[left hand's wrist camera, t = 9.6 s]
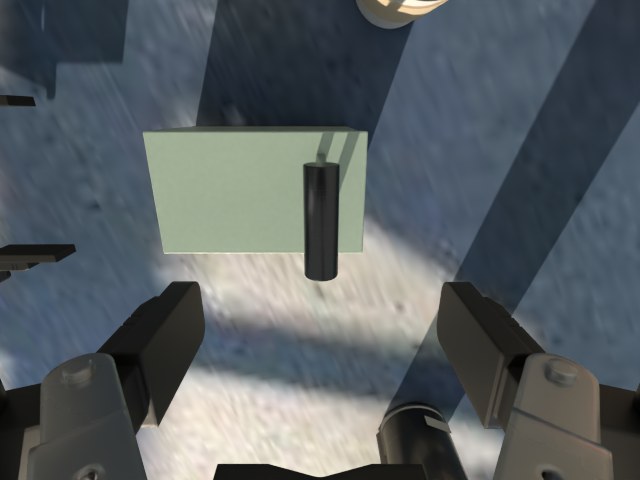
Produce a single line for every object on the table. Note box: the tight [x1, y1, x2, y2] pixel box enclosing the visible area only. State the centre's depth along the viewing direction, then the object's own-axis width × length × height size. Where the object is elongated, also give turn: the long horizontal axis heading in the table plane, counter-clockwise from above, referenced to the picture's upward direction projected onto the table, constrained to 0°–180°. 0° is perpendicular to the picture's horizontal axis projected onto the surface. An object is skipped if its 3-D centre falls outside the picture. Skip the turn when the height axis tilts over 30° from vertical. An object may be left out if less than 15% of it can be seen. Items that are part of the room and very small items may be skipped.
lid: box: [143, 131, 368, 281], centre depth 23 cm, size 16×10×9 cm, turn 90°
